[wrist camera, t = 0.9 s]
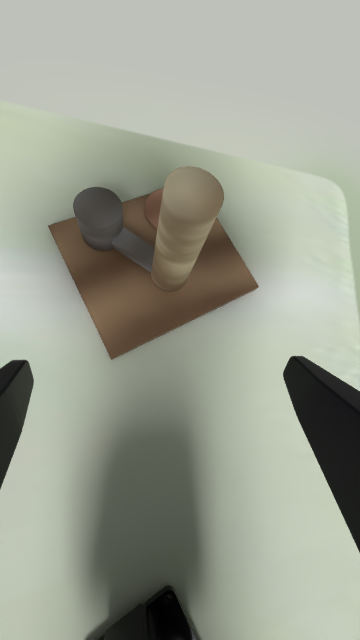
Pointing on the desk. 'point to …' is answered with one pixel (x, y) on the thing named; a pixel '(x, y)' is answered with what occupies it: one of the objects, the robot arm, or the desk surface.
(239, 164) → the desk surface
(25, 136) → the desk surface
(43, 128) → the desk surface
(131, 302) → the brown board
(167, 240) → the crank handle
